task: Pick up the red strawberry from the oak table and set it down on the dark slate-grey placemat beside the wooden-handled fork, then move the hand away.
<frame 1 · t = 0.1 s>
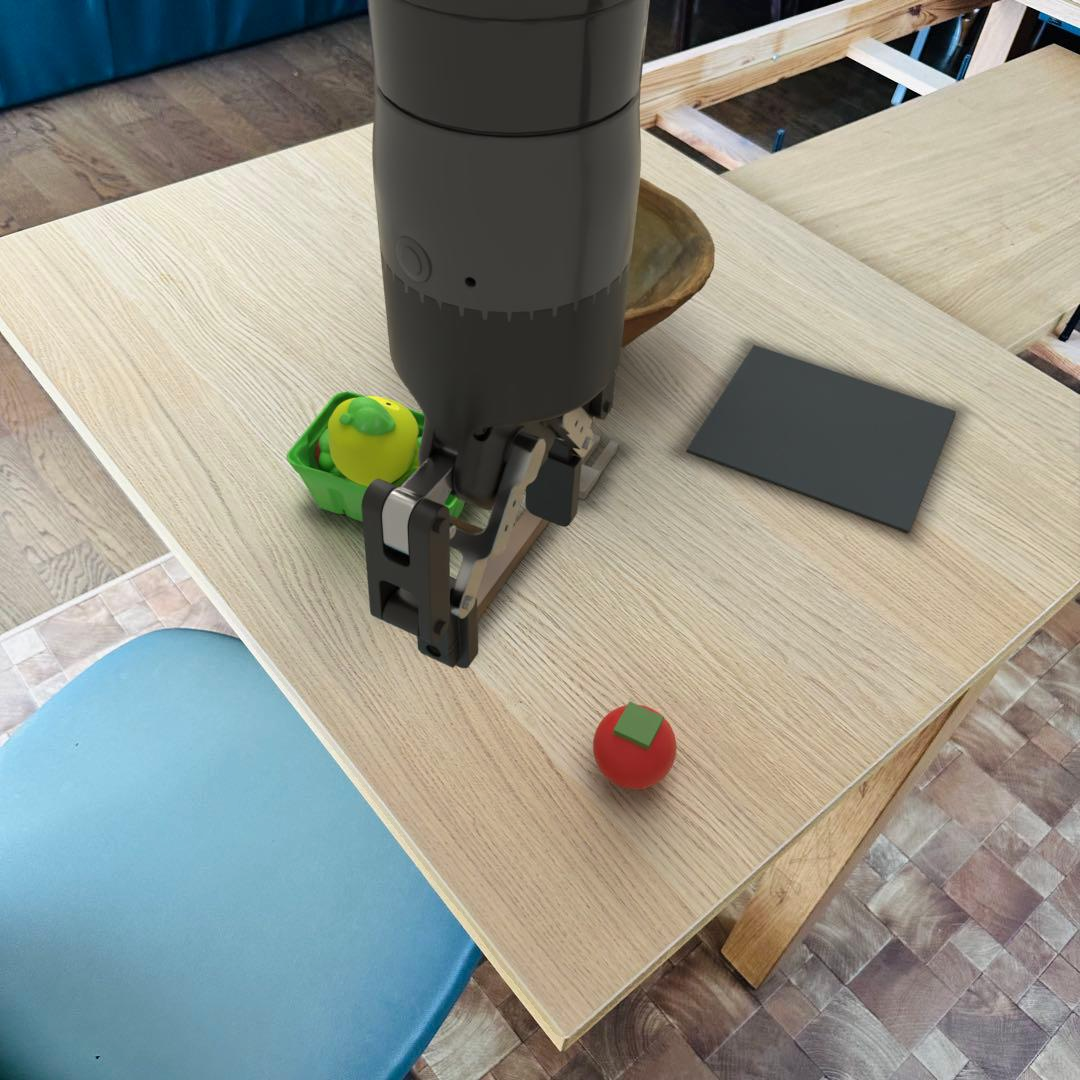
hand: (503, 580, 42), 17 cm above the table, tool pointing down, fingers open, 8 cm apart
bowl: (550, 347, 81), on the table
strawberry: (630, 767, 56), on the table
placemat: (824, 431, 75), on the table
fruit basket: (392, 510, 69), on the table
fork: (525, 538, 67), on the table
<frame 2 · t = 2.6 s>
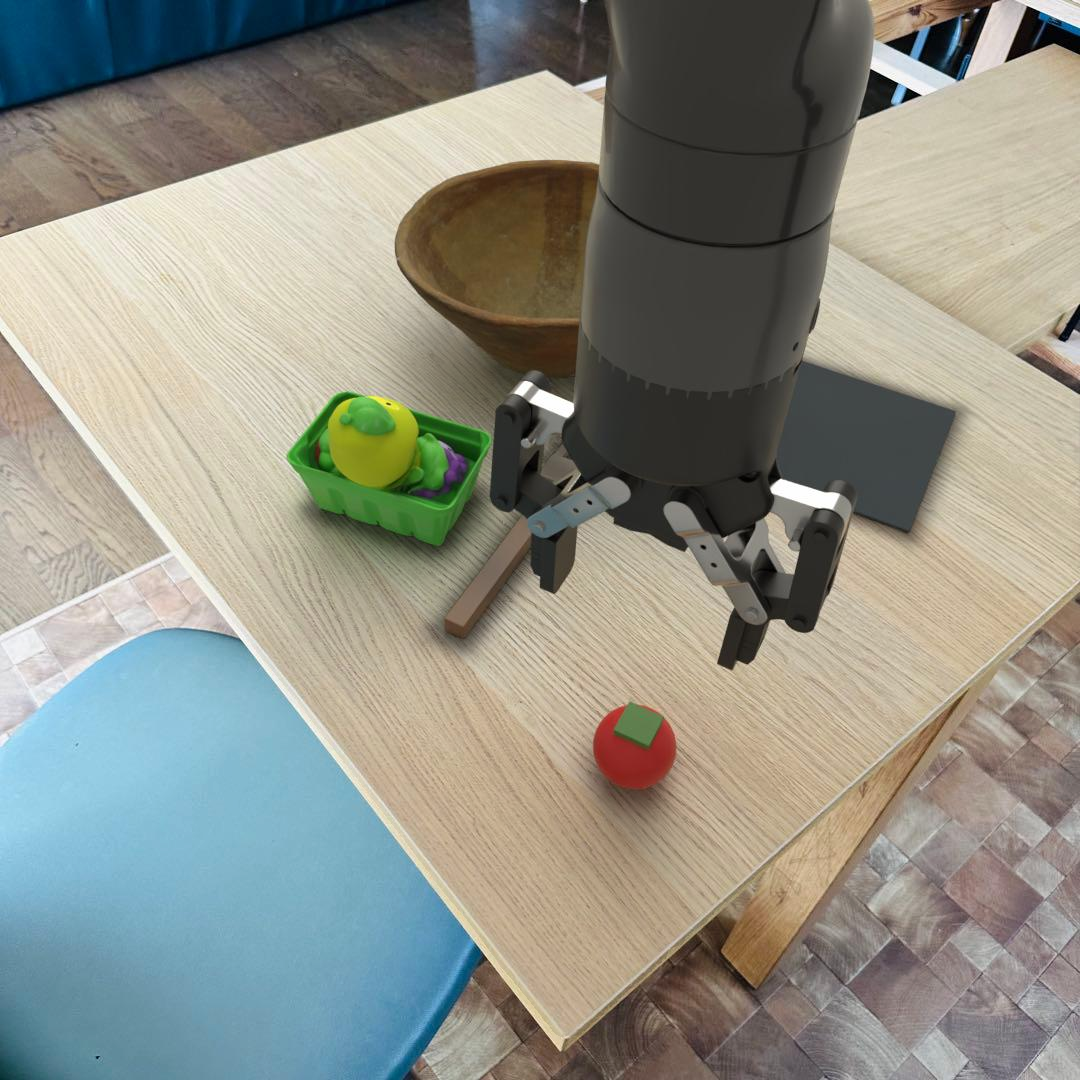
hand: (642, 615, 46), 14 cm above the table, tool pointing down, fingers open, 8 cm apart
nothing on the table moved.
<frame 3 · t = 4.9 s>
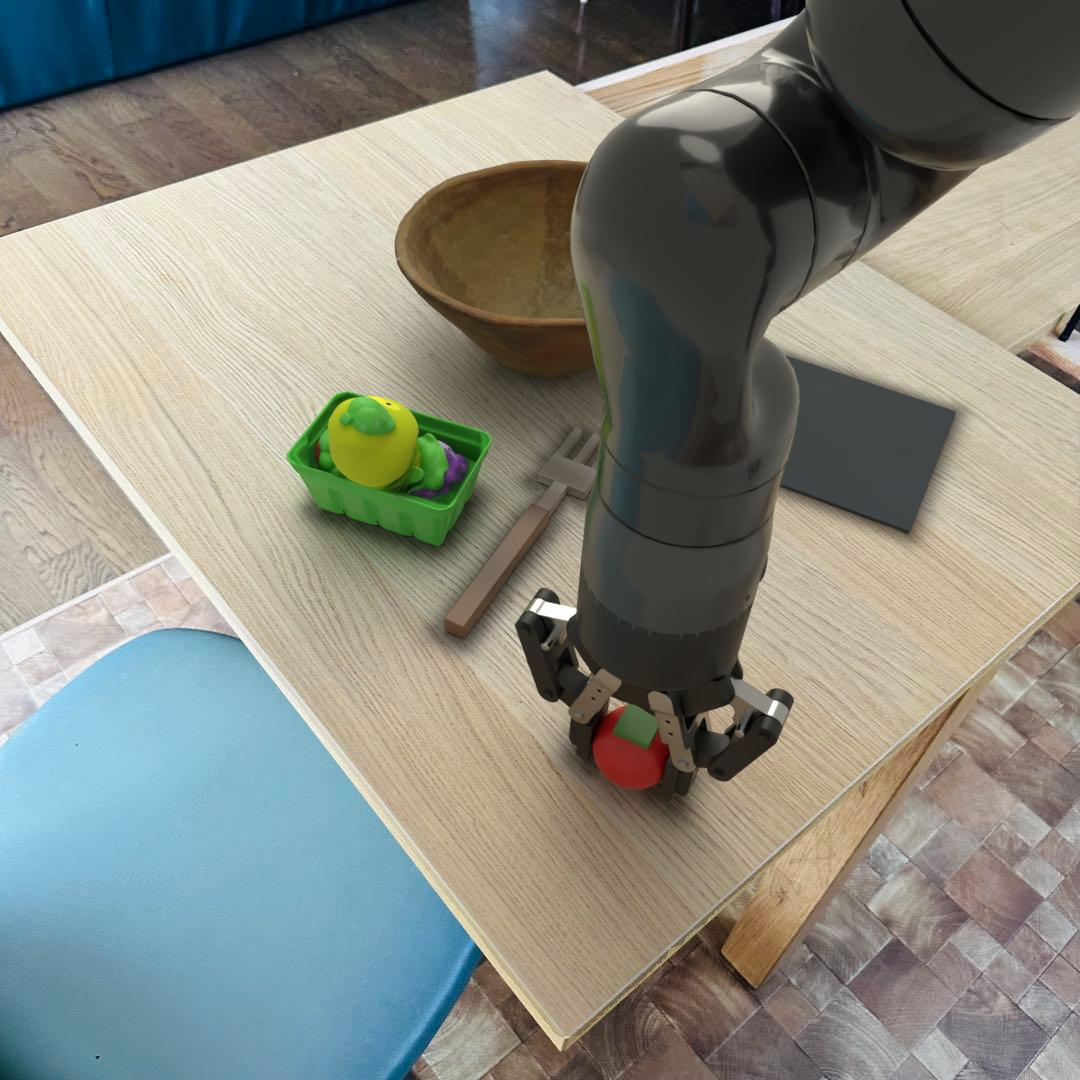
hand: (631, 764, 56), 0 cm above the table, tool pointing down, fingers closed on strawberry, 4 cm apart
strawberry: (630, 767, 56), on the table, touching gripper
everything else where it was.
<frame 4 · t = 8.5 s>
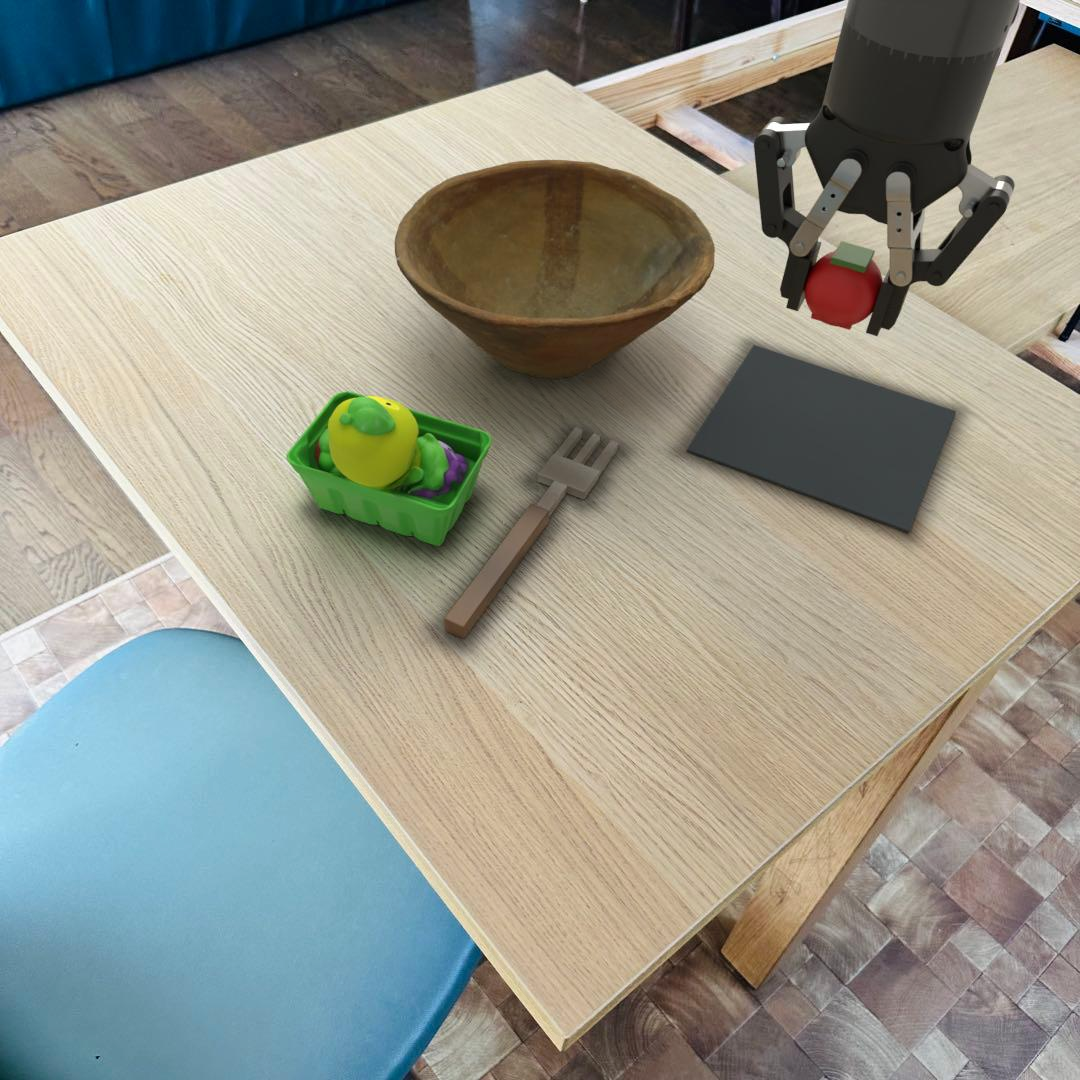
hand: (835, 314, 61), 14 cm above the table, tool pointing down, fingers closed on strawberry, 4 cm apart
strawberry: (833, 319, 62), point 13 cm above the table, touching gripper
everything else where it was.
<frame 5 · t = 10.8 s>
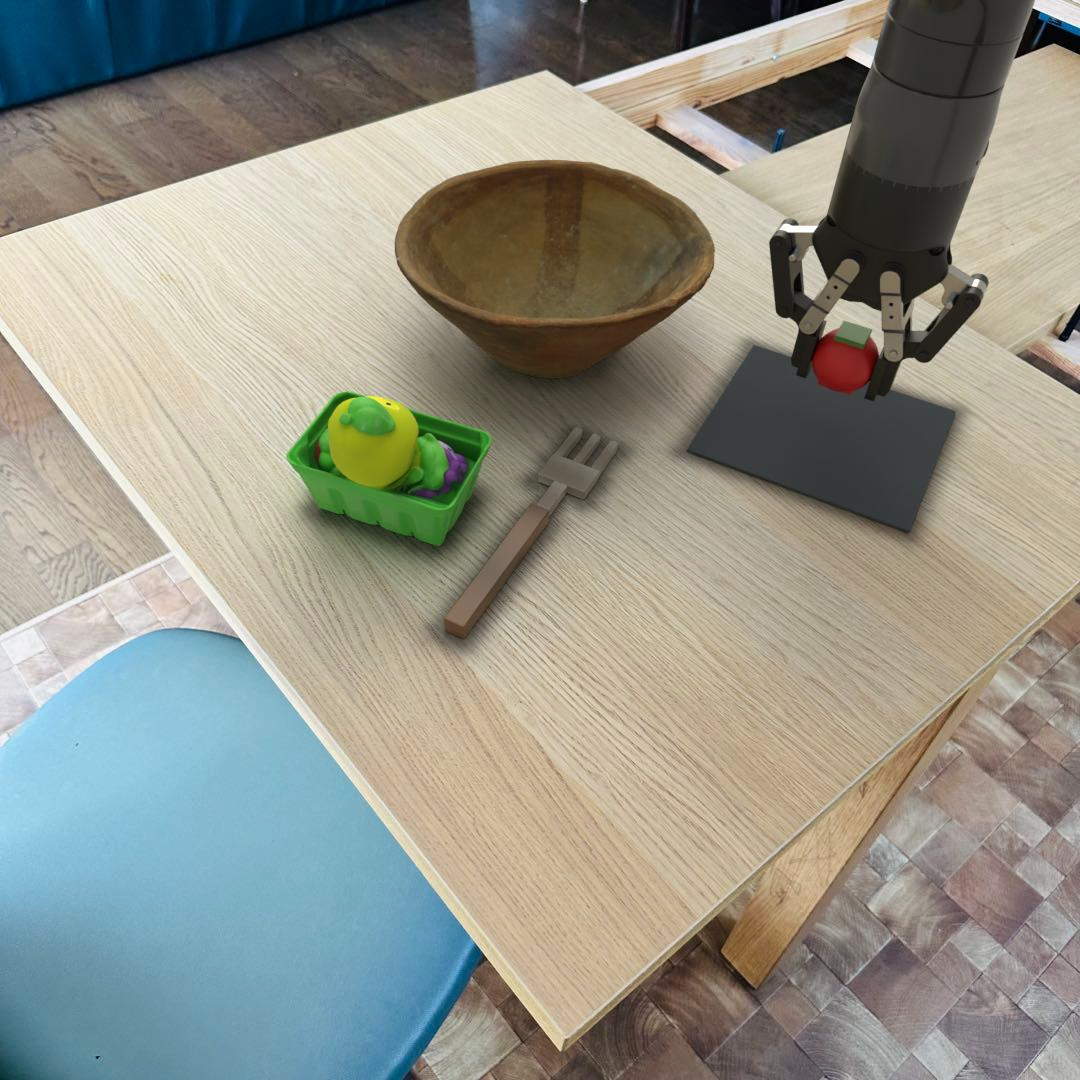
hand: (838, 381, 71), 5 cm above the table, tool pointing down, fingers closed on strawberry, 4 cm apart
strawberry: (837, 385, 72), point 4 cm above the table, touching gripper
everything else where it was.
when the fingers open (1 cm above the table, at t = 12.3 s): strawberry stays where it is, resting on placemat.
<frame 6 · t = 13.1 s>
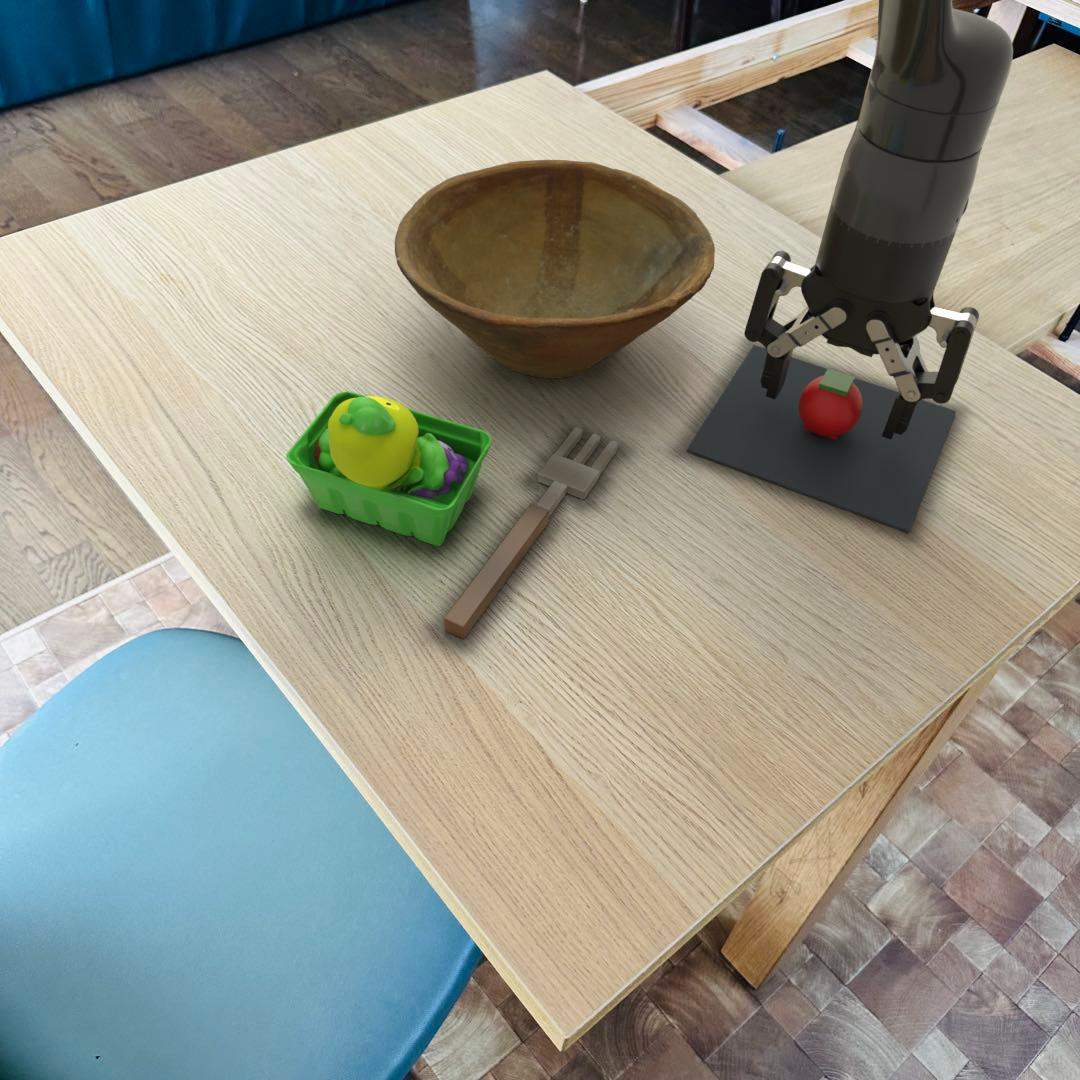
hand: (831, 411, 73), 2 cm above the table, tool pointing down, fingers open, 8 cm apart
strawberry: (823, 429, 75), resting on placemat
everything else where it was.
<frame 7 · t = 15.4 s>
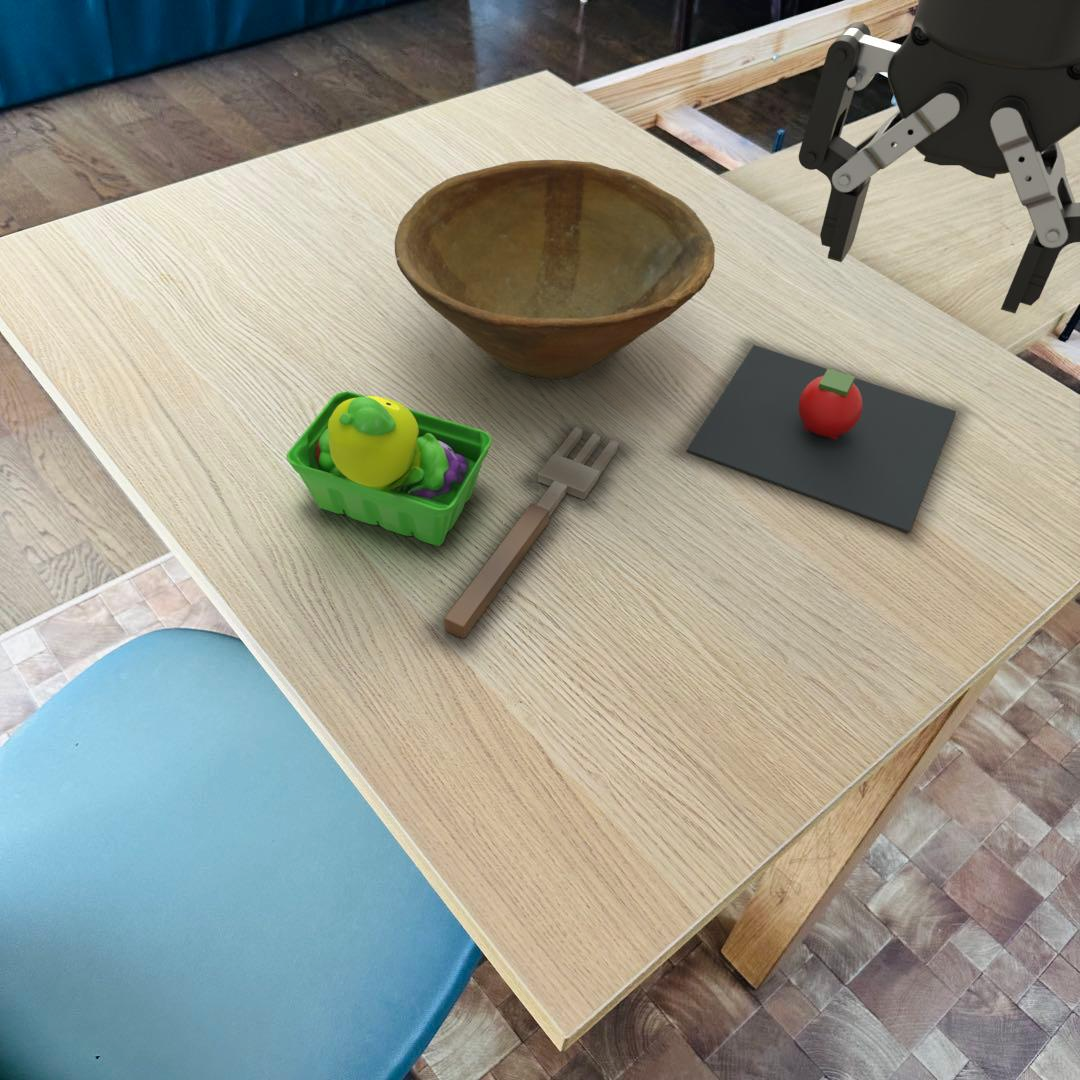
hand: (923, 278, 51), 21 cm above the table, tool pointing down, fingers open, 8 cm apart
nothing on the table moved.
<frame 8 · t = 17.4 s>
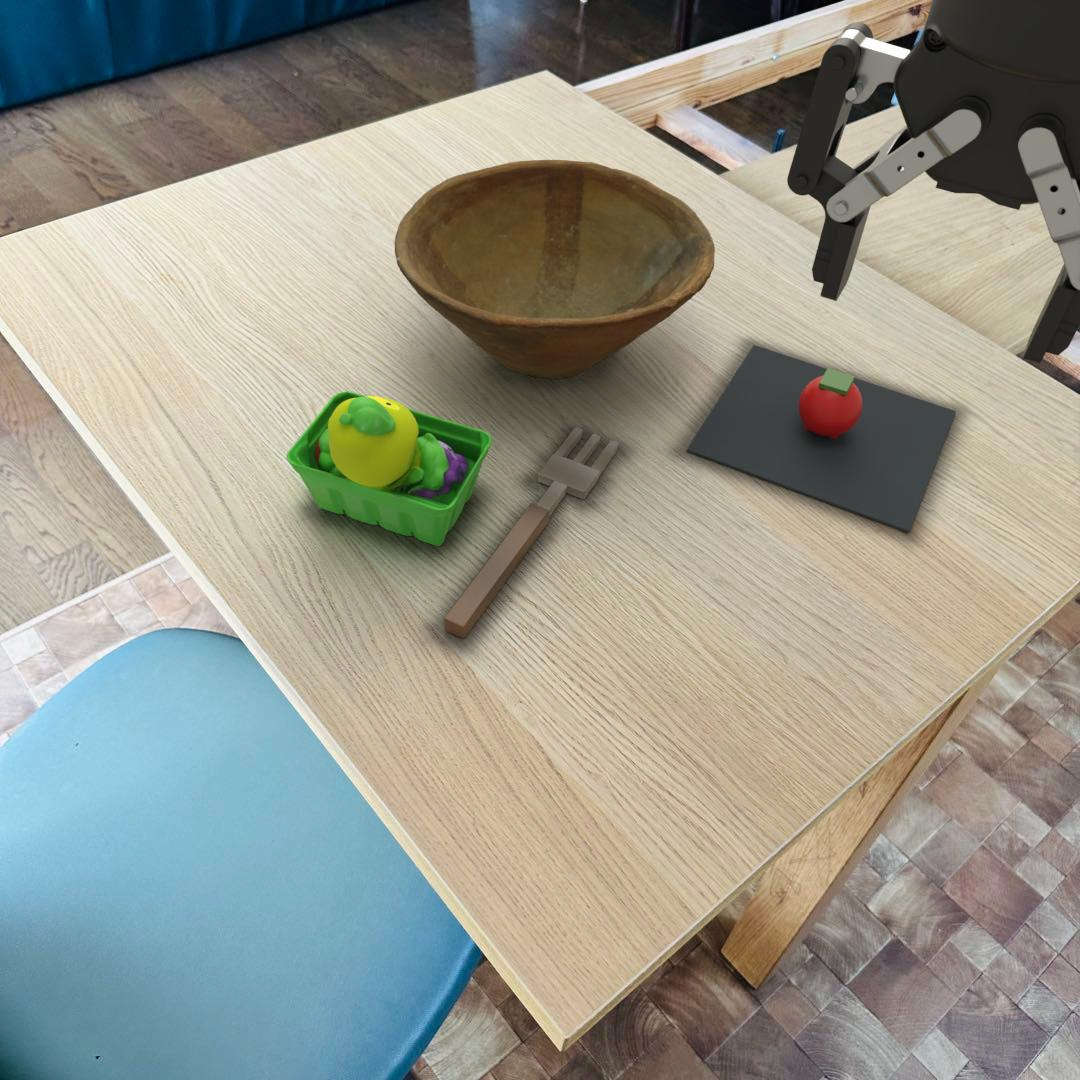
hand: (931, 320, 44), 24 cm above the table, tool pointing down, fingers open, 8 cm apart
nothing on the table moved.
at the end: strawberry inside the target area on the placemat (0.1 cm from its centre), point 0.2 cm above the placemat's base; the gripper is holding nothing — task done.
